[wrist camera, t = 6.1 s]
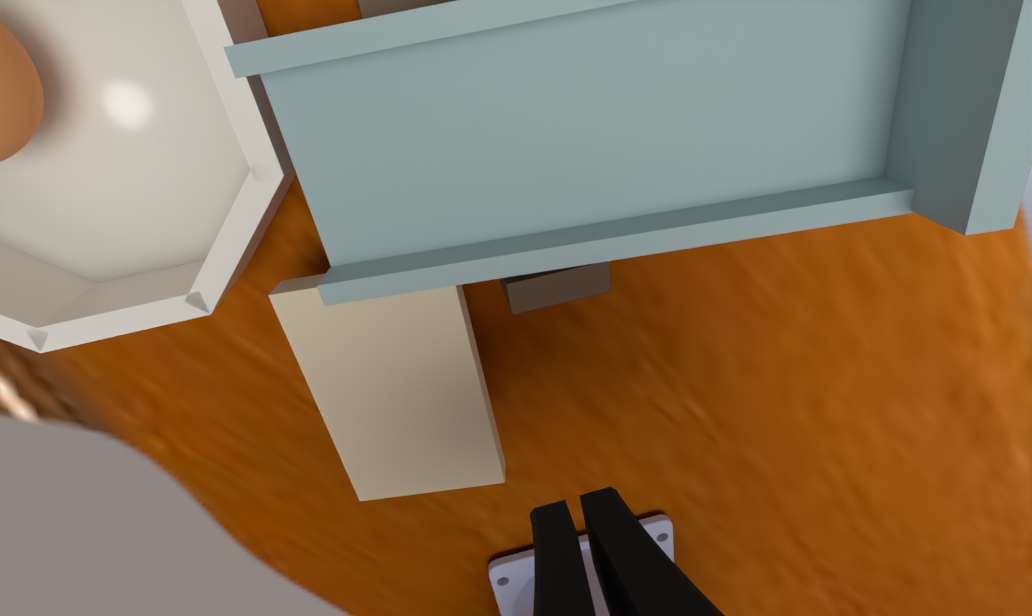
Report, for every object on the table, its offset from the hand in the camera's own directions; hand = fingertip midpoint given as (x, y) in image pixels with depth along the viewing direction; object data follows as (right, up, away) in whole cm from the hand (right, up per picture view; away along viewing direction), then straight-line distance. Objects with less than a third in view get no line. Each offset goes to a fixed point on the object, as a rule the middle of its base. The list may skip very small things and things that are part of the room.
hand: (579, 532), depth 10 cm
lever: (0, +5, +3) cm, 6 cm away
